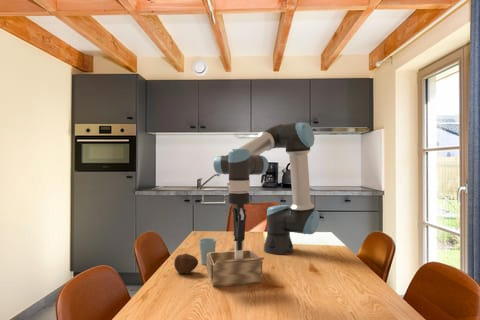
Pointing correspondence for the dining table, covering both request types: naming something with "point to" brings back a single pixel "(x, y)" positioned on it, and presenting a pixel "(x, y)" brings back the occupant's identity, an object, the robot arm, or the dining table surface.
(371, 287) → the dining table surface
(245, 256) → the carton
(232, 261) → the flap
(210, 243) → the cup
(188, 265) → the potato
